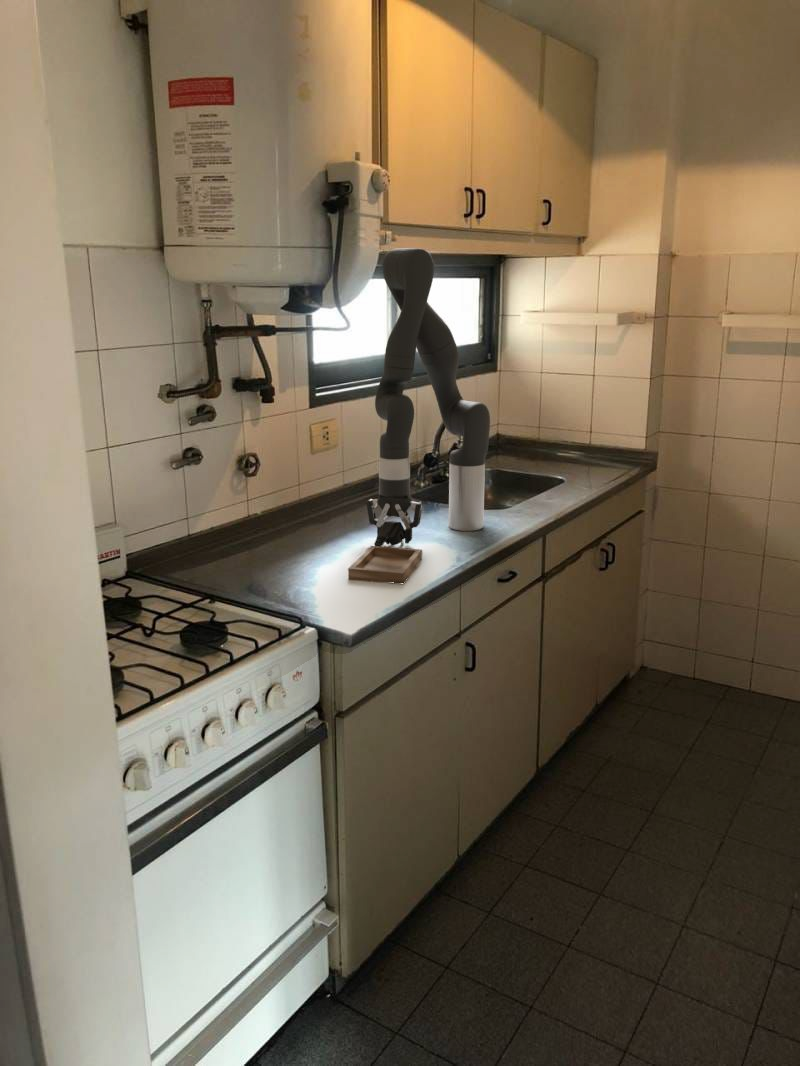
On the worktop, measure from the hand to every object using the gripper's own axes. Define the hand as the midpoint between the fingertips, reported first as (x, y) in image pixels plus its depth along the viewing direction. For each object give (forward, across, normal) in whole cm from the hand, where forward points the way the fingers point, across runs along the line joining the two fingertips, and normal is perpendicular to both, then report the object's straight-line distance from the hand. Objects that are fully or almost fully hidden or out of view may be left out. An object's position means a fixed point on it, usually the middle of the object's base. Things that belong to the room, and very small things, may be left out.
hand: (394, 541), depth 210 cm
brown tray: (+1, -3, +18) cm, 19 cm away
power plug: (+1, +1, +4) cm, 4 cm away
